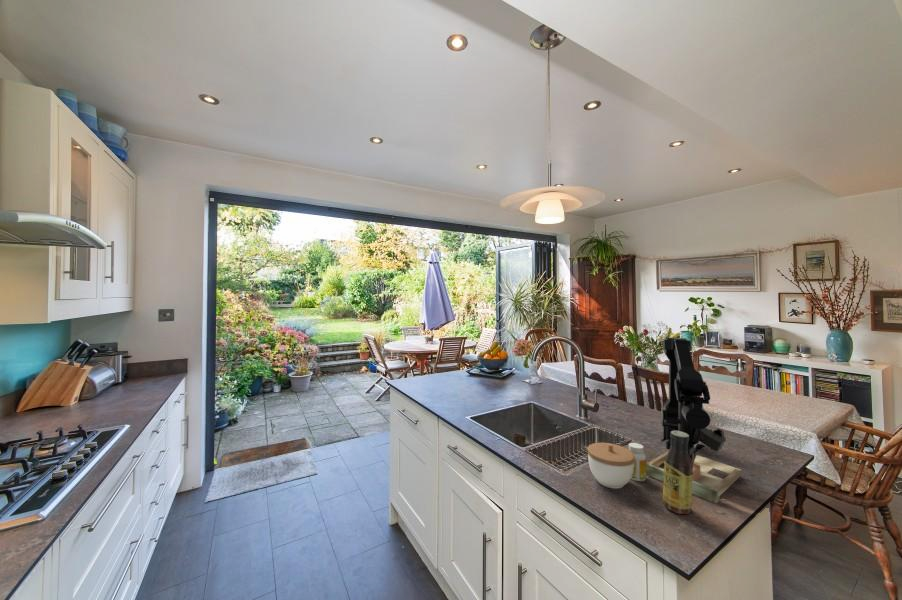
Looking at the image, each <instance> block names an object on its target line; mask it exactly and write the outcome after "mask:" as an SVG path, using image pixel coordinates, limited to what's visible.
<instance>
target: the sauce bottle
mask: <svg viewBox="0 0 902 600" xmlns="http://www.w3.org/2000/svg"><path fill="white" fill-rule="evenodd" d="M670 437H671V446H670V449H668V450H667V451H668V454H667V456H666V458H665V461H664V463H663V468H664V482H663V481H662V482H663V485H662V486H663V489H662V498H663V499H662V500H663V502H662V503H663V505H664V507H665V508H666V509H668V510H670V511H671V512H673V513H675V514H678V515H679V514H681V515H688V514H690V513H691V511H692V504H693V503H692V501H693V494H692V483H693V472H692V471H693V462H692V459H691V458H690V456H689V454H688V442H689V435H688V434H687V433H685V432H681V431H671V433H670Z"/></svg>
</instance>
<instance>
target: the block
mask: <svg viewBox="0 0 902 600" xmlns="http://www.w3.org/2000/svg"><path fill="white" fill-rule="evenodd" d="M692 472H693V481H695V482H696V481H697V480H698V479H699V478H700V466H699V465H696V464H693V471H692Z"/></svg>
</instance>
